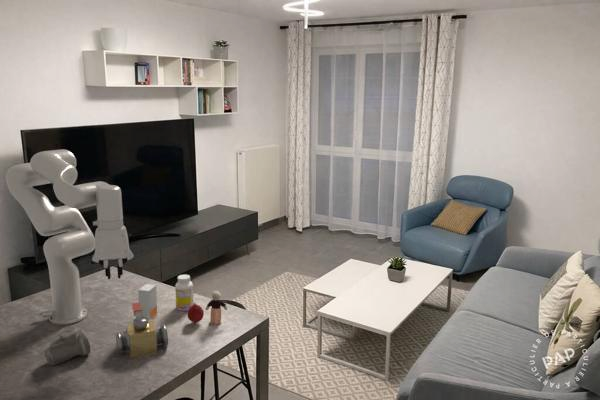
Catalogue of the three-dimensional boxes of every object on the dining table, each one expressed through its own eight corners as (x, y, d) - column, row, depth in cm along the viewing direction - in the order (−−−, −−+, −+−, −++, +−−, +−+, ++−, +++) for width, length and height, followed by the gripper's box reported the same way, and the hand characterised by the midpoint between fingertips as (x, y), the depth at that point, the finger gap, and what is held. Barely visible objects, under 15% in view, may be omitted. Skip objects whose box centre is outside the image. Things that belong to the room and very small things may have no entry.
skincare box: (149, 321, 175) (148, 291, 172) (139, 320, 176) (137, 290, 173) (157, 314, 181) (156, 284, 178) (147, 312, 182) (146, 283, 179)
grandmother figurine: (206, 326, 173) (205, 294, 170) (205, 321, 176) (205, 289, 173) (227, 325, 174) (227, 292, 171) (227, 320, 178) (226, 288, 175)
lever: (149, 328, 154) (149, 321, 154) (134, 330, 152) (134, 324, 152) (143, 307, 168) (142, 301, 167) (129, 309, 166) (128, 303, 166)
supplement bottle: (182, 302, 191) (181, 272, 188) (197, 305, 189) (196, 275, 186) (172, 309, 185) (171, 278, 182) (187, 312, 183) (186, 281, 180)
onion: (206, 321, 177) (206, 301, 175) (198, 328, 171) (198, 307, 170) (193, 318, 179) (192, 298, 177) (184, 325, 173) (183, 304, 171)
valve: (118, 360, 150) (116, 337, 148) (116, 348, 157) (114, 325, 156) (168, 350, 157) (167, 328, 155) (164, 338, 164) (163, 317, 162)
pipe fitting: (84, 344, 158) (78, 318, 154) (93, 356, 152) (88, 330, 149) (45, 361, 150) (38, 334, 146) (53, 375, 145) (47, 347, 141)
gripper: (82, 228, 148) (86, 284, 153) (137, 225, 153) (140, 279, 157) (84, 222, 155) (89, 275, 159) (137, 219, 160) (140, 271, 164)
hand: (114, 277), depth 158 cm, fingers open, 2 cm apart
